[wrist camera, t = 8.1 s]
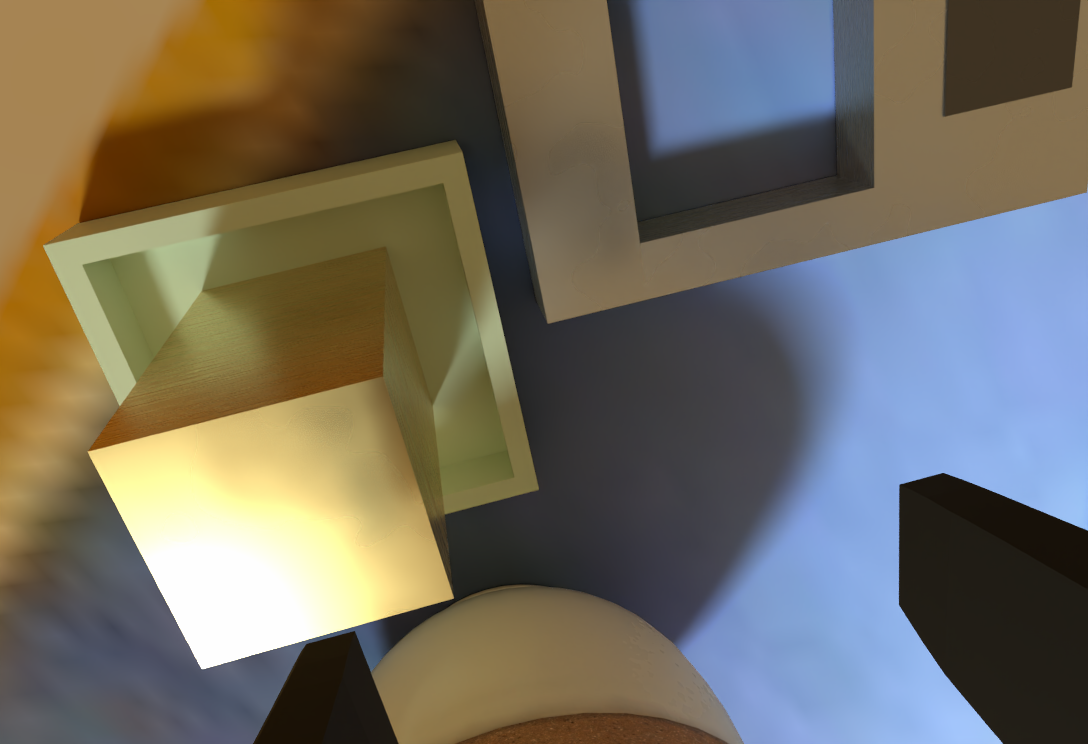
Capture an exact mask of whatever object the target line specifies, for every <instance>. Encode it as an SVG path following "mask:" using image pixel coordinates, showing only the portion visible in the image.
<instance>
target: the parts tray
mask: <svg viewBox="0 0 1088 744" xmlns="http://www.w3.org/2000/svg"><path fill="white" fill-rule="evenodd" d="M385 246H386V248H387V252H388V255H389V259H390V262H391V265H392V269H393V272H394V276H395V279H396V282H397V286H398V289H399V293H400V296H401V299H402V303H403V306H404V310H405V313H406V316H407V320H408V323H409V327H410V330H411V333H412V337H413V340H414V344H415V347H416V350H417V354H418V357H419V361H420V364H421V367H422V371H423V374H424V378H425V381H426V384H427V388H428V391H429V395H430V398H431V401H432V405H433V412H434V422H435V431H436V440H437V449H438V458H439V467H440V476H441V485H442V494H443V503H444V512H445V514H448V513H452V512H456V511H459V510H463V509H467V508H471V507H475V506H479V505H482V504H486V503H490V502H494V501H498V500H502V499H505V498H509V497H513V496H517V495H521V494H524V493H528V492H532V491H536V490H539V487H538V483H537V478H536V474H535V469H534V465H533V461H532V456H531V452H530V447H529V443H528V439H527V434H526V430H525V425H524V421H523V417H522V412H521V408H520V403H519V399H518V395H517V390H516V386H515V381H514V377H513V373H512V368H511V364H510V359H509V355H508V351H507V346H506V342H505V337H504V333H503V329H502V324H501V320H500V315H499V311H498V307H497V302H496V298H495V293H494V289H493V285H492V280H491V276H490V271H489V267H488V263H487V258H486V254H485V249H484V245H483V241H482V236H481V232H480V227H479V223H478V219H477V214H476V210H475V205H474V201H473V197H472V192H471V188H470V183H469V179H468V175H467V170H466V166H465V161H464V157H463V153H462V150H461V149H460V147H459V145H458V143H457V142H456V140H452V141H448V142H443V143H438V144H434V145H429V146H425V147H420V148H416V149H411V150H407V151H402V152H398V153H393V154H389V155H384V156H380V157H375V158H371V159H366V160H362V161H357V162H353V163H348V164H344V165H339V166H335V167H330V168H326V169H321V170H317V171H312V172H308V173H303V174H299V175H294V176H290V177H285V178H281V179H276V180H272V181H267V182H263V183H258V184H254V185H249V186H244V187H240V188H235V189H231V190H226V191H222V192H217V193H213V194H208V195H204V196H199V197H195V198H190V199H186V200H181V201H177V202H172V203H168V204H163V205H159V206H154V207H150V208H145V209H141V210H136V211H132V212H127V213H123V214H118V215H114V216H109V217H105V218H100V219H96V220H91V221H87V222H82V223H78V224H76V225H74V226H73V227H71V228H70V229H68V230H67V231H65V232H63V233H62V234H60V235H59V236H57V237H56V238H54V239H52V240H51V241H49V242H48V243H46V244H45V245H43V247H44V249H45V251H46V253H47V255H48V257H49V259H50V261H51V263H52V265H53V268H54V270H55V272H56V274H57V276H58V278H59V280H60V282H61V284H62V286H63V288H64V291H65V293H66V295H67V297H68V299H69V301H70V303H71V305H72V307H73V309H74V311H75V313H76V316H77V318H78V320H79V322H80V324H81V326H82V328H83V330H84V332H85V334H86V336H87V339H88V341H89V343H90V345H91V347H92V349H93V351H94V353H95V355H96V357H97V359H98V362H99V364H100V366H101V368H102V370H103V372H104V374H105V376H106V378H107V380H108V382H109V384H110V387H111V389H112V391H113V393H114V395H115V397H116V399H117V401H118V403H119V405H121V404H122V403H123V401H124V400H125V398H126V397H127V396H128V394H129V393H130V391H131V390H132V388H133V387H134V386H135V384H136V383H137V381H138V380H139V379H140V377H141V376H142V374H143V373H144V372H145V370H146V369H147V367H148V366H149V364H150V363H151V362H152V360H153V359H154V357H155V356H156V355H157V353H158V352H159V350H160V349H161V348H162V346H163V345H164V343H165V342H166V341H167V339H168V338H169V336H170V335H171V333H172V332H173V331H174V329H175V328H176V326H177V325H178V324H179V322H180V321H181V319H182V318H183V317H184V315H185V314H186V312H187V311H188V309H189V308H190V307H191V305H192V304H193V302H194V301H195V300H196V298H197V297H198V295H199V294H200V293H201V291H203V290H207V289H211V288H215V287H220V286H224V285H228V284H232V283H236V282H240V281H244V280H248V279H253V278H257V277H261V276H265V275H269V274H273V273H277V272H282V271H286V270H290V269H294V268H298V267H302V266H306V265H311V264H315V263H319V262H323V261H327V260H331V259H335V258H340V257H344V256H348V255H352V254H356V253H360V252H364V251H369V250H373V249H377V248H381V247H385Z"/></svg>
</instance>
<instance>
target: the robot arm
mask: <svg viewBox="0 0 1088 744" xmlns="http://www.w3.org/2000/svg"><path fill="white" fill-rule="evenodd" d="M899 606H900V607H901V609H902V610H903V612H904V613H905V615H906V617H907V618H908V620H909V621H910V623H911V624H912V626H913V627H914V629H915V631H916V632H917V634H918V635H919V637H920V638H921V640H922V642H923V643H924V645H925V646H926V647H927V649H928V650H929V652H930V653H931V655H932V656H933V658H934V659H935V661H936V662H937V664H938V665H939V666H940V668H941V669H942V671H943V672H944V674H945V675H946V676H947V677H948V679H949V680H950V681H951V682H952V683H953V685H954V686H955V687H956V688H957V690H958V691H959V692H960V693H961V694H962V696H963V697H964V698H965V699H966V700H967V701H968V703H969V704H970V705H971V706H972V707H973V709H974V710H975V711H976V712H977V713H978V715H979V716H980V717H981V718H982V719H983V720H984V722H985V723H986V724H987V725H988V726H989V728H990V729H991V730H992V731H993V732H994V733H995V735H996V736H997V737H998V738H999V739H1000V740H1001V742H1002V743H1003V744H1088V531H1087V530H1085V529H1082V528H1080V527H1078V526H1075V525H1073V524H1070V523H1068V522H1065V521H1063V520H1060V519H1058V518H1056V517H1053V516H1051V515H1048V514H1046V513H1043V512H1041V511H1039V510H1036V509H1034V508H1031V507H1029V506H1026V505H1024V504H1022V503H1019V502H1017V501H1014V500H1012V499H1009V498H1007V497H1005V496H1002V495H1000V494H997V493H995V492H992V491H990V490H987V489H985V488H982V487H980V486H977V485H975V484H972V483H970V482H967V481H964V480H962V479H959V478H956V477H953V476H950V475H948V474H945V473H941V474H938V475H934V476H930V477H926V478H923V479H919V480H915V481H912V482H908V483H904V484H900V488H899ZM253 744H399V743H398V741H397V738H396V736H395V733H394V731H393V728H392V725H391V723H390V720H389V718H388V715H387V713H386V710H385V707H384V705H383V702H382V700H381V697H380V695H379V692H378V690H377V687H376V684H375V682H374V679H373V677H372V674H371V672H370V669H369V666H368V664H367V661H366V659H365V656H364V654H363V651H362V648H361V646H360V643H359V641H358V638H357V636H356V633H355V631H353V632H350V633H346V634H342V635H339V636H335V637H331V638H327V639H324V640H320V641H316V642H312V643H309V644H306V645H305V647H304V648H303V650H302V651H301V653H300V655H299V657H298V658H297V660H296V662H295V664H294V666H293V668H292V670H291V672H290V674H289V676H288V678H287V680H286V682H285V684H284V686H283V688H282V689H281V691H280V693H279V695H278V697H277V699H276V701H275V703H274V705H273V707H272V709H271V711H270V713H269V715H268V717H267V718H266V720H265V722H264V724H263V726H262V728H261V730H260V732H259V734H258V735H257V737H256V739H255V741H254V743H253Z"/></svg>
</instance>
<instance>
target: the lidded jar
mask: <svg viewBox="0 0 1088 744" xmlns="http://www.w3.org/2000/svg"><path fill="white" fill-rule="evenodd" d="M371 674H372V677H373V679H374V682H375V684H376V687H377V690H378V692H379V695H380V697H381V700H382V702H383V705H384V707H385V710H386V713H387V715H388V718H389V720H390V723H391V725H392V728H393V731H394V733H395V736H396V738H397V741H398V743H399V744H744V743H743V741H742V739H741V737H740V735H739V733H738V732H737V730H736V728H735V726H734V724H733V722H732V721H731V719H730V717H729V715H728V713H727V712H726V710H725V708H724V707H723V705H722V704H721V702H720V701H719V699H718V698H717V697H716V695H715V694H714V692H713V691H712V689H711V688H710V686H709V685H708V684H707V682H706V681H705V680H704V678H703V677H702V676H701V675H700V674H699V672H698V671H697V670H696V669H695V668H694V666H693V665H692V664H691V663H690V662H689V661H688V660H687V658H686V657H685V656H684V655H683V654H682V653H681V652H680V650H679V649H678V648H677V647H676V646H675V645H674V644H673V642H671V641H670V640H669V639H667V638H666V637H665V636H664V635H662V634H661V633H660V632H659V631H657V630H656V629H655V628H654V627H652V626H651V625H650V624H648V623H647V622H646V621H644V620H643V619H642V618H640V617H639V616H638V615H636V614H634V613H632V612H630V611H628V610H627V609H625V608H623V607H621V606H619V605H617V604H615V603H612V602H610V601H607V600H605V599H602V598H599V597H596V596H593V595H591V594H588V593H585V592H581V591H575V590H570V589H564V588H557V587H546V586H540V585H527V584H517V585H505V586H499V587H495V588H490V589H486V590H483V591H480V592H477V593H474V594H471V595H469V596H467V597H465V598H463V599H461V600H459V601H457V602H455V603H453V604H452V605H450V606H449V607H447V608H446V609H444V610H443V611H441V612H439V613H437V614H435V615H433V616H432V617H430V618H429V619H427V620H426V621H424V622H423V623H421V624H420V625H418V626H417V627H415V628H414V629H413V630H411V631H410V632H409V633H408V634H407V635H406V636H405V637H404V638H403V639H401V640H400V641H399V642H398V643H397V644H396V645H395V646H394V647H393V648H392V649H391V650H390V651H389V652H388V653H387V654H386V655H385V656H384V657H383V658H382V659H381V661H380V662H379V663H378V664H377V666H376V667H375V668H374V669H373V670H372V672H371Z"/></svg>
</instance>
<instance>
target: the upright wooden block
mask: <svg viewBox="0 0 1088 744" xmlns="http://www.w3.org/2000/svg"><path fill="white" fill-rule="evenodd" d="M88 453H89V455H90V457H91V459H92V461H93V463H94V465H95V467H96V469H97V471H98V472H99V474H100V476H101V478H102V480H103V482H104V484H105V486H106V488H107V490H108V491H109V493H110V495H111V497H112V499H113V501H114V503H115V505H116V507H117V508H118V510H119V512H120V514H121V516H122V518H123V520H124V522H125V524H126V526H127V527H128V529H129V531H130V533H131V535H132V537H133V539H134V541H135V543H136V544H137V546H138V548H139V550H140V552H141V554H142V556H143V558H144V560H145V562H146V563H147V565H148V567H149V569H150V571H151V573H152V575H153V577H154V579H155V581H156V582H157V584H158V586H159V588H160V590H161V592H162V594H163V596H164V598H165V599H166V601H167V603H168V605H169V607H170V609H171V611H172V613H173V615H174V617H175V618H176V620H177V622H178V624H179V626H180V628H181V630H182V632H183V634H184V636H185V637H186V639H187V641H188V643H189V645H190V647H191V649H192V651H193V653H194V654H195V656H196V658H197V660H198V662H199V664H200V666H201V668H202V669H203V668H207V667H210V666H214V665H217V664H221V663H224V662H228V661H232V660H235V659H239V658H242V657H246V656H250V655H253V654H257V653H260V652H264V651H267V650H271V649H275V648H278V647H282V646H285V645H289V644H293V643H296V642H300V641H303V640H307V639H310V638H314V637H318V636H321V635H325V634H328V633H332V632H336V631H339V630H343V629H346V628H350V627H353V626H357V625H361V624H364V623H368V622H371V621H375V620H379V619H382V618H386V617H389V616H393V615H396V614H400V613H404V612H407V611H411V610H414V609H418V608H422V607H425V606H429V605H432V604H436V603H440V602H443V601H447V600H450V599H454V594H453V585H452V576H451V567H450V558H449V549H448V540H447V531H446V521H445V512H444V503H443V494H442V485H441V476H440V467H439V458H438V449H437V440H436V431H435V422H434V412H433V405H432V401H431V398H430V395H429V391H428V388H427V384H426V381H425V378H424V374H423V371H422V367H421V364H420V361H419V357H418V354H417V350H416V347H415V344H414V340H413V337H412V333H411V330H410V327H409V323H408V320H407V316H406V313H405V310H404V306H403V303H402V299H401V296H400V293H399V289H398V286H397V282H396V279H395V276H394V272H393V269H392V265H391V262H390V259H389V255H388V252H387V248H386V246H385V247H381V248H377V249H373V250H369V251H364V252H360V253H356V254H352V255H348V256H344V257H340V258H335V259H331V260H327V261H323V262H319V263H315V264H311V265H306V266H302V267H298V268H294V269H290V270H286V271H282V272H277V273H273V274H269V275H265V276H261V277H257V278H253V279H248V280H244V281H240V282H236V283H232V284H228V285H224V286H220V287H215V288H211V289H207V290H203V291H201V293H200V294H199V295H198V297H197V298H196V300H195V301H194V302H193V304H192V305H191V307H190V308H189V309H188V311H187V312H186V314H185V315H184V317H183V318H182V319H181V321H180V322H179V324H178V325H177V326H176V328H175V329H174V331H173V332H172V333H171V335H170V336H169V338H168V339H167V341H166V342H165V343H164V345H163V346H162V348H161V349H160V350H159V352H158V353H157V355H156V356H155V357H154V359H153V360H152V362H151V363H150V364H149V366H148V367H147V369H146V370H145V372H144V373H143V374H142V376H141V377H140V379H139V380H138V381H137V383H136V384H135V386H134V387H133V388H132V390H131V391H130V393H129V394H128V396H127V397H126V398H125V400H124V401H123V403H122V404H121V405H120V407H119V408H118V410H117V411H116V412H115V414H114V415H113V417H112V418H111V419H110V421H109V422H108V424H107V425H106V427H105V428H104V429H103V431H102V432H101V434H100V435H99V436H98V438H97V439H96V441H95V442H94V443H93V445H92V446H91V448H90V449H89V451H88Z"/></svg>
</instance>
